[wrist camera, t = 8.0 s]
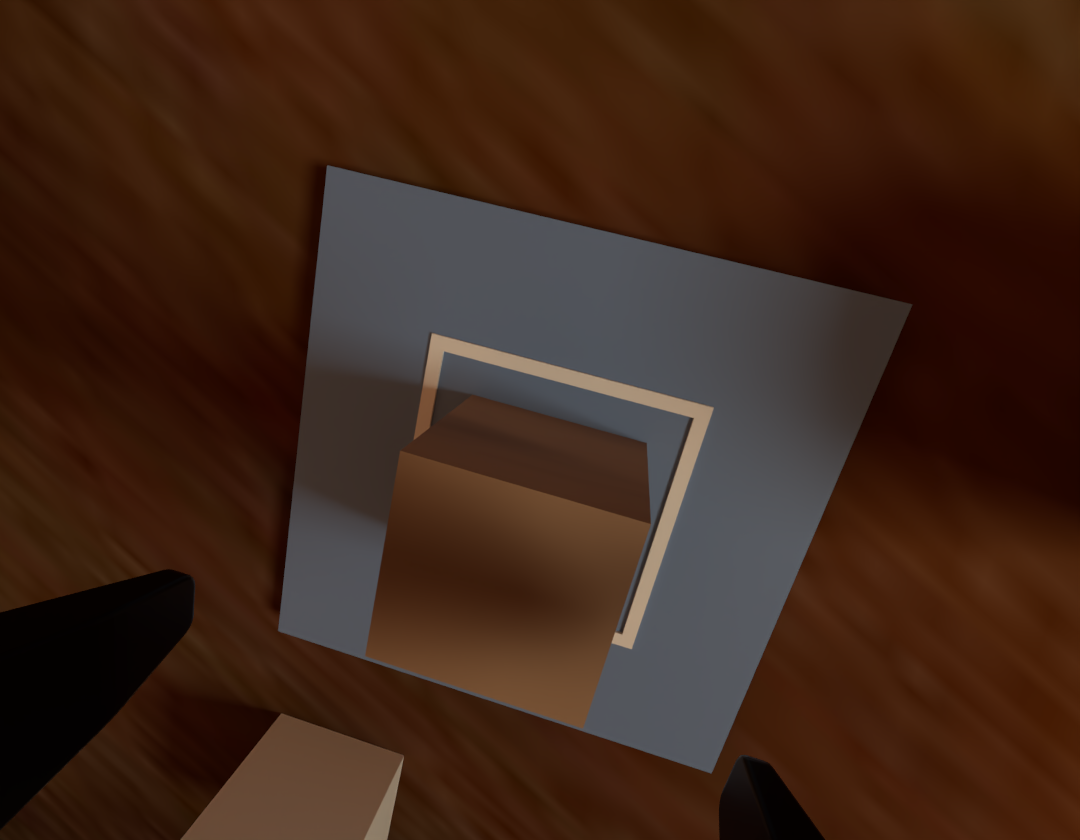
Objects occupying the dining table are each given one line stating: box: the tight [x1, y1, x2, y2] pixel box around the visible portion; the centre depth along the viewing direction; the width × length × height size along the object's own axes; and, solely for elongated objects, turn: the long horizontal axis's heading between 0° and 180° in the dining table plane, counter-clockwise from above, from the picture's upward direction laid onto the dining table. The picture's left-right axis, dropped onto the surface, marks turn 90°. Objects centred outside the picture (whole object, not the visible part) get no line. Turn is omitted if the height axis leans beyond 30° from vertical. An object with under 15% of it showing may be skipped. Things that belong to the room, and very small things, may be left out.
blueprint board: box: [278, 165, 912, 773], centre depth 16 cm, size 15×15×1 cm
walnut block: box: [365, 395, 651, 729], centre depth 14 cm, size 5×5×5 cm
